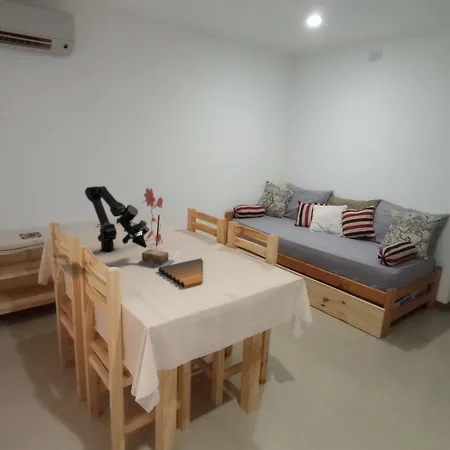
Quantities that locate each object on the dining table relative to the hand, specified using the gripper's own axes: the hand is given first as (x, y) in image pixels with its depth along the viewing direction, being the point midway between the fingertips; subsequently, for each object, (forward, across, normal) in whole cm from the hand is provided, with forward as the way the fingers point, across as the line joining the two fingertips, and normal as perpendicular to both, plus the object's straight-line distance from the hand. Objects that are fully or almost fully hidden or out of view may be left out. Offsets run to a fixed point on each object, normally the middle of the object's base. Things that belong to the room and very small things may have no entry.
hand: (146, 247), depth 195 cm
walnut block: (+3, 0, +4) cm, 5 cm away
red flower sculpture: (-6, +30, +17) cm, 35 cm away
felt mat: (+11, 0, 0) cm, 11 cm away
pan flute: (+28, -7, -16) cm, 33 cm away
